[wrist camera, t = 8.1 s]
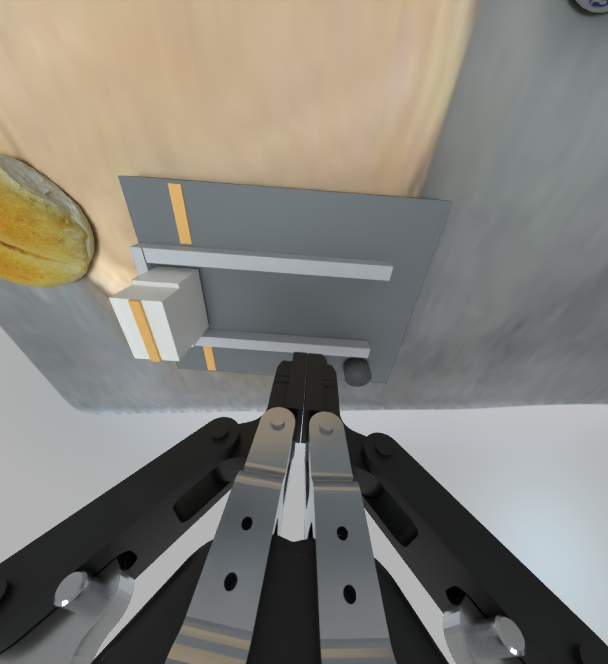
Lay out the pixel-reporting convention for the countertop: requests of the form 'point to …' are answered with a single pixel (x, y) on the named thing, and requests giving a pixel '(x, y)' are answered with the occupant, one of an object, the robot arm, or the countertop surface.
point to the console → (290, 269)
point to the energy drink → (594, 5)
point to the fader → (162, 313)
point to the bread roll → (40, 229)
